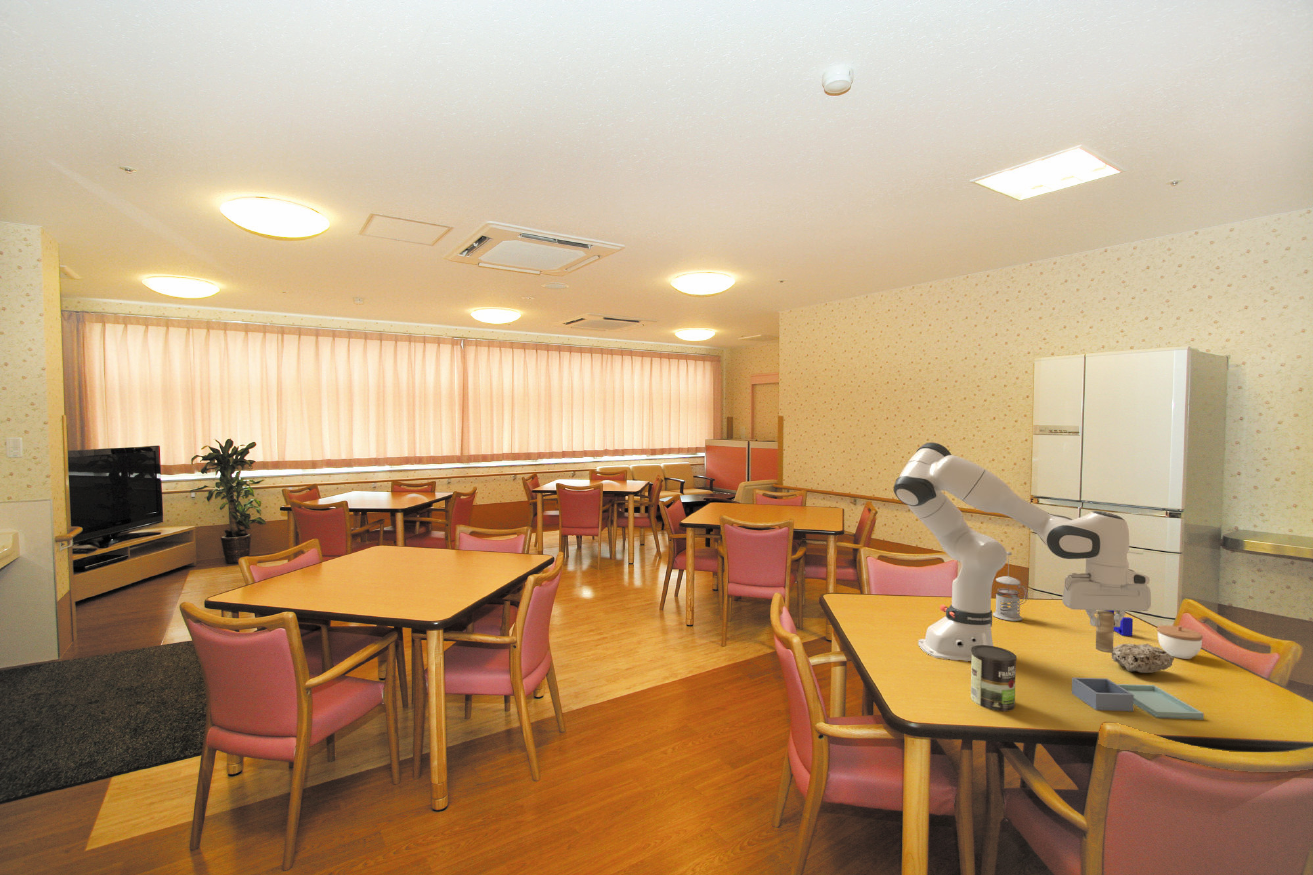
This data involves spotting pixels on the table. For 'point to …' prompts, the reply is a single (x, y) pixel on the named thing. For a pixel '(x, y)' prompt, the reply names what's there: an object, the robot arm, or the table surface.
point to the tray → (1161, 703)
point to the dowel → (1105, 631)
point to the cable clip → (1124, 626)
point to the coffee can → (993, 677)
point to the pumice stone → (1141, 658)
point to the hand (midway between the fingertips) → (1104, 626)
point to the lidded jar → (1179, 641)
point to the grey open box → (1102, 694)
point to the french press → (1008, 599)
